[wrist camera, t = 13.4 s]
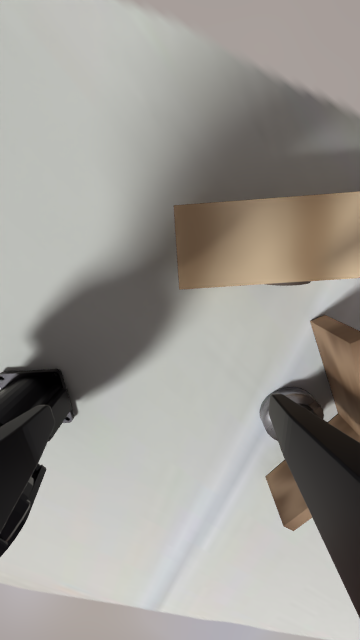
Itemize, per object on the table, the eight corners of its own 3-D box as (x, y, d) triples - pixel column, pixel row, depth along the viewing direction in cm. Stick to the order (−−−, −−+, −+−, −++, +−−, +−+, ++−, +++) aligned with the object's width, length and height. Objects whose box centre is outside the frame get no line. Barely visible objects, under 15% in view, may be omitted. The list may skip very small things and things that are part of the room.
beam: (180, 283, 19) (179, 294, 14) (175, 217, 17) (173, 205, 13) (362, 271, 19) (425, 279, 14) (376, 202, 17) (453, 184, 12)
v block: (264, 480, 27) (282, 530, 22) (312, 314, 20) (353, 334, 15) (326, 484, 27) (357, 534, 22) (396, 320, 20) (463, 342, 15)
